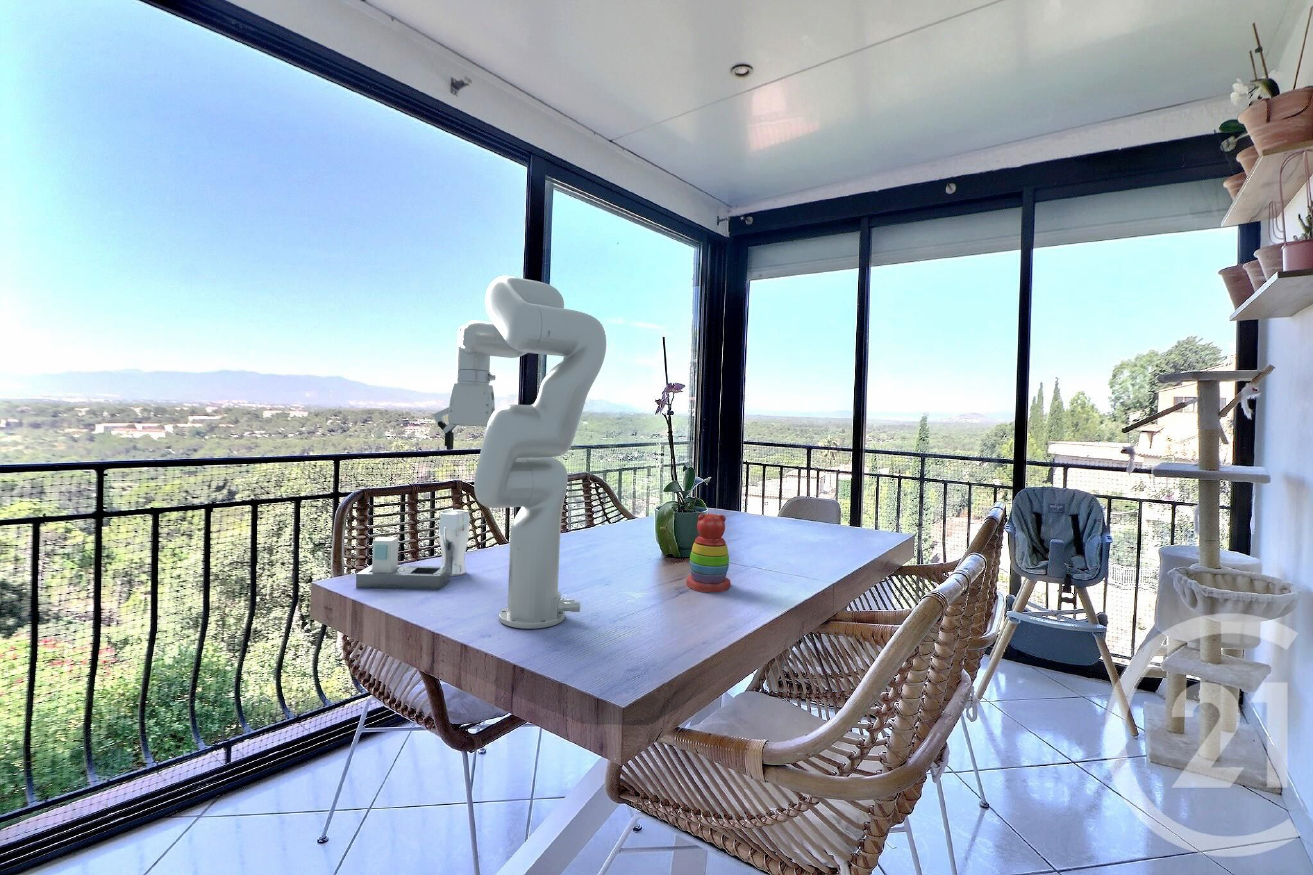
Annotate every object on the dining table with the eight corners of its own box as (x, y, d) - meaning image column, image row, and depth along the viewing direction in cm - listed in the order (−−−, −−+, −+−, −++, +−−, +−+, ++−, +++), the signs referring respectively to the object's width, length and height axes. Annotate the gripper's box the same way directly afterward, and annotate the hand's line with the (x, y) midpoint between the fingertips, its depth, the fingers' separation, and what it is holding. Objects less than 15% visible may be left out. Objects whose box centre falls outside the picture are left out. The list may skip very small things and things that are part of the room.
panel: (449, 579, 140) (450, 566, 140) (439, 589, 132) (439, 576, 132) (371, 577, 139) (371, 564, 139) (355, 587, 131) (356, 573, 131)
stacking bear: (730, 583, 148) (733, 511, 147) (731, 595, 138) (735, 518, 137) (686, 580, 149) (690, 509, 148) (684, 591, 139) (688, 515, 138)
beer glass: (462, 577, 142) (464, 514, 142) (433, 575, 142) (435, 513, 142) (471, 569, 149) (473, 510, 149) (444, 568, 149) (446, 509, 149)
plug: (397, 580, 137) (398, 537, 137) (388, 586, 133) (389, 541, 132) (379, 580, 137) (380, 536, 137) (370, 585, 132) (371, 541, 132)
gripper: (512, 381, 146) (510, 451, 146) (440, 377, 145) (438, 448, 145) (506, 379, 138) (503, 453, 139) (430, 375, 137) (428, 450, 138)
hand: (470, 450), depth 142 cm, fingers open, 9 cm apart
